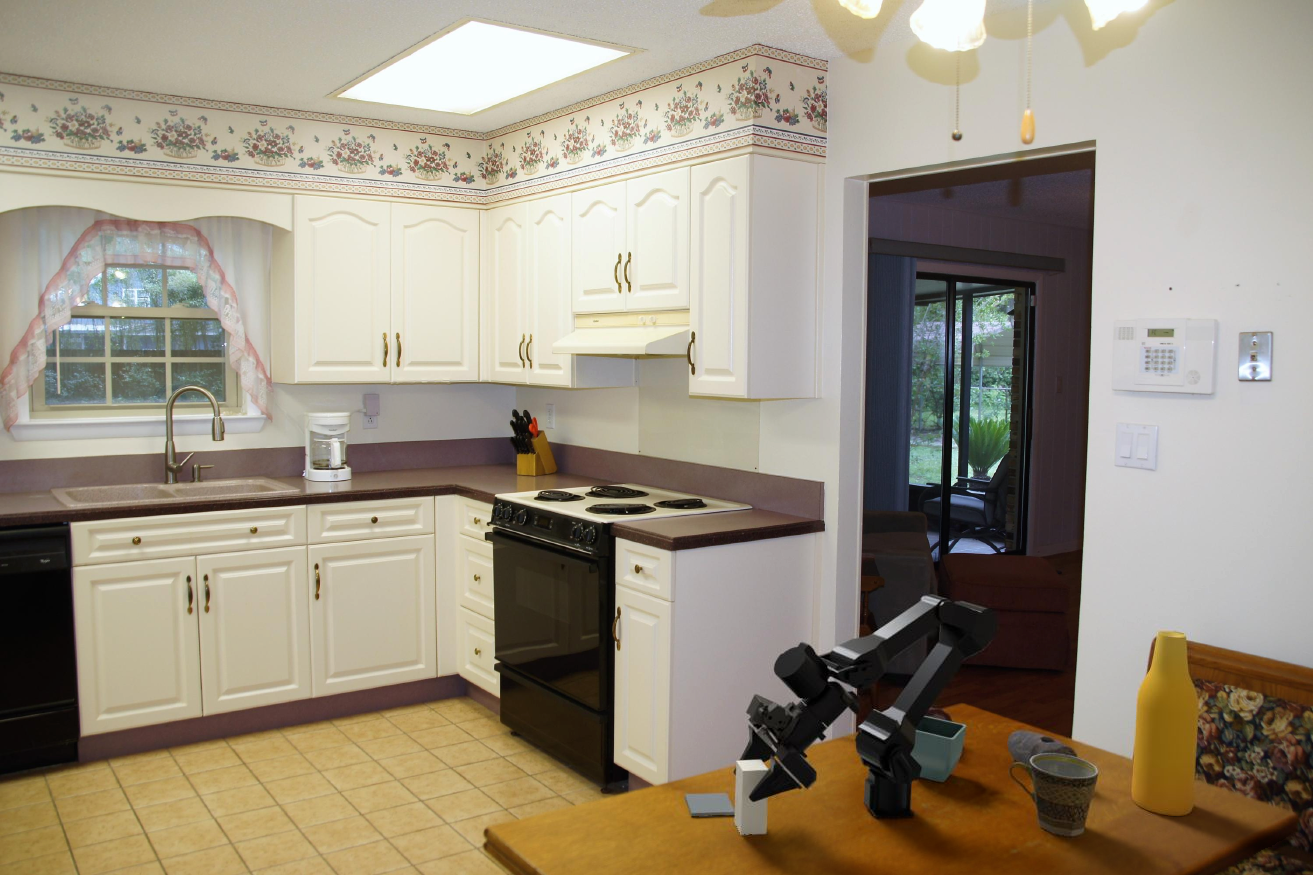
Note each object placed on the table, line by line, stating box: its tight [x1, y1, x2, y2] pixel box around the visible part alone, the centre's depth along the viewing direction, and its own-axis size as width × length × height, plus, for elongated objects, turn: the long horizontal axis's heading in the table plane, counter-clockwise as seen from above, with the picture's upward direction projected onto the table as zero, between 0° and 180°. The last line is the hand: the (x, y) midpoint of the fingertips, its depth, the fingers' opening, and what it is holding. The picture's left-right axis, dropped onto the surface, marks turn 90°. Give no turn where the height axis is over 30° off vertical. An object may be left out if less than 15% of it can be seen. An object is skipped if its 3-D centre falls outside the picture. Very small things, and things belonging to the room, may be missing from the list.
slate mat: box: [684, 792, 735, 817], centre depth 159 cm, size 7×7×1 cm
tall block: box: [733, 760, 769, 836], centre depth 151 cm, size 4×4×10 cm
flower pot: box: [910, 716, 967, 783], centre depth 174 cm, size 9×9×9 cm
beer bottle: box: [1131, 630, 1200, 817], centre depth 163 cm, size 9×9×29 cm
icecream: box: [925, 705, 953, 722], centre depth 190 cm, size 7×7×15 cm
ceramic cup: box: [1008, 753, 1099, 837], centre depth 155 cm, size 13×10×10 cm
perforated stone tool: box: [1007, 730, 1078, 766], centre depth 177 cm, size 15×5×7 cm, turn 20°
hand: (742, 786), depth 151 cm, fingers open, 9 cm apart
